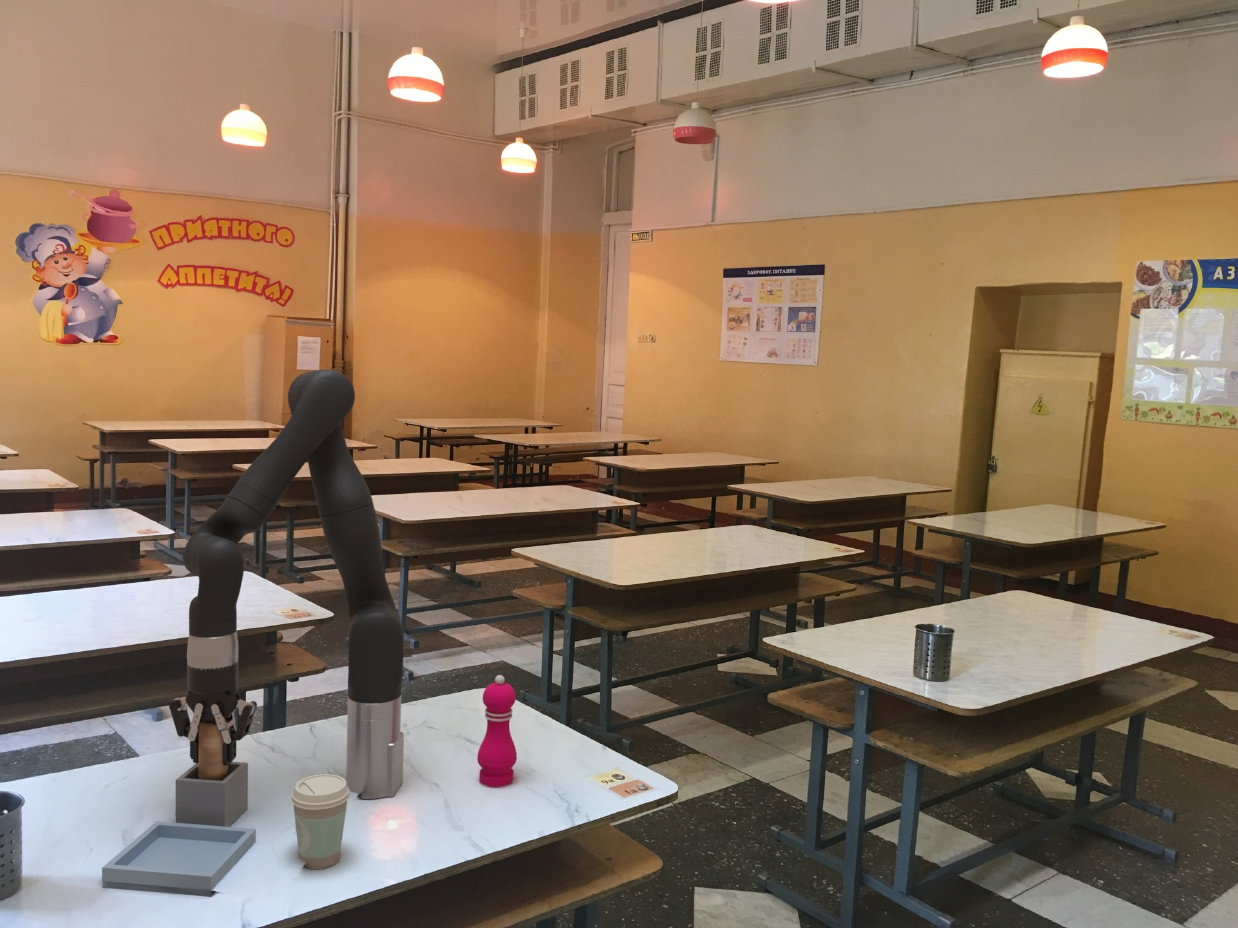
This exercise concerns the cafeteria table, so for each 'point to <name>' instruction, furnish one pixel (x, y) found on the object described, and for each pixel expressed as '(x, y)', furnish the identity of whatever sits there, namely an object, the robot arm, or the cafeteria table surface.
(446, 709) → the cafeteria table surface
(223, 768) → the walnut peg
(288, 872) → the cafeteria table surface
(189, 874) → the tray
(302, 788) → the coffee cup
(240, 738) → the robot arm
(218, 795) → the grey square frame
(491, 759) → the pepper mill
